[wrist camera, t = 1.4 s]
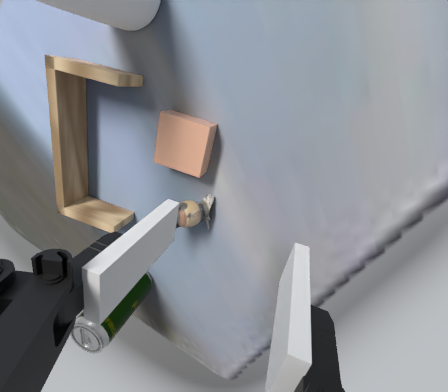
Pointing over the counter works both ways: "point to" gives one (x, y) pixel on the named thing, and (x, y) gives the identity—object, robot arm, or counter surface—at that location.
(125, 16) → the milk bottle
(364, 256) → the counter surface
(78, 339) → the beer can
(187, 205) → the vase
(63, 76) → the frame
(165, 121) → the tile
